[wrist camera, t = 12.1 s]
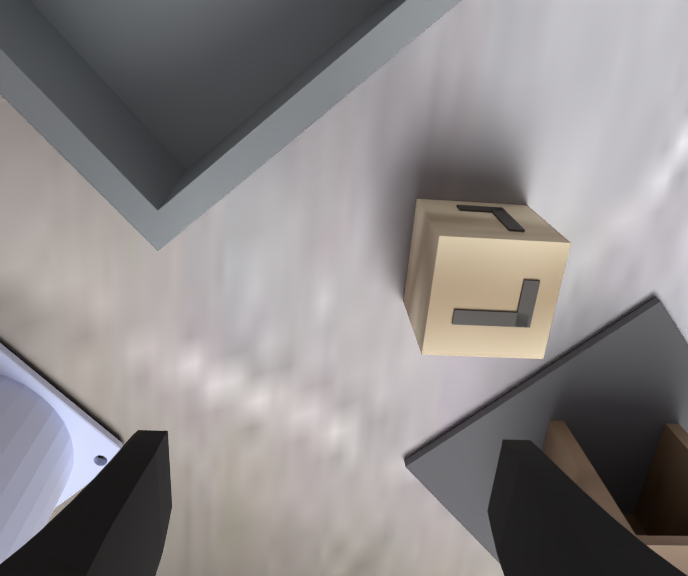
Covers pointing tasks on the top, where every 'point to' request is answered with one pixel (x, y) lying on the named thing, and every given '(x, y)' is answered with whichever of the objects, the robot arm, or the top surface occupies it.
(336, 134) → the top surface
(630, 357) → the rubber mat
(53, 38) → the grey bin
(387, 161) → the top surface
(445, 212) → the letter cube
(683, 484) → the tan open box
